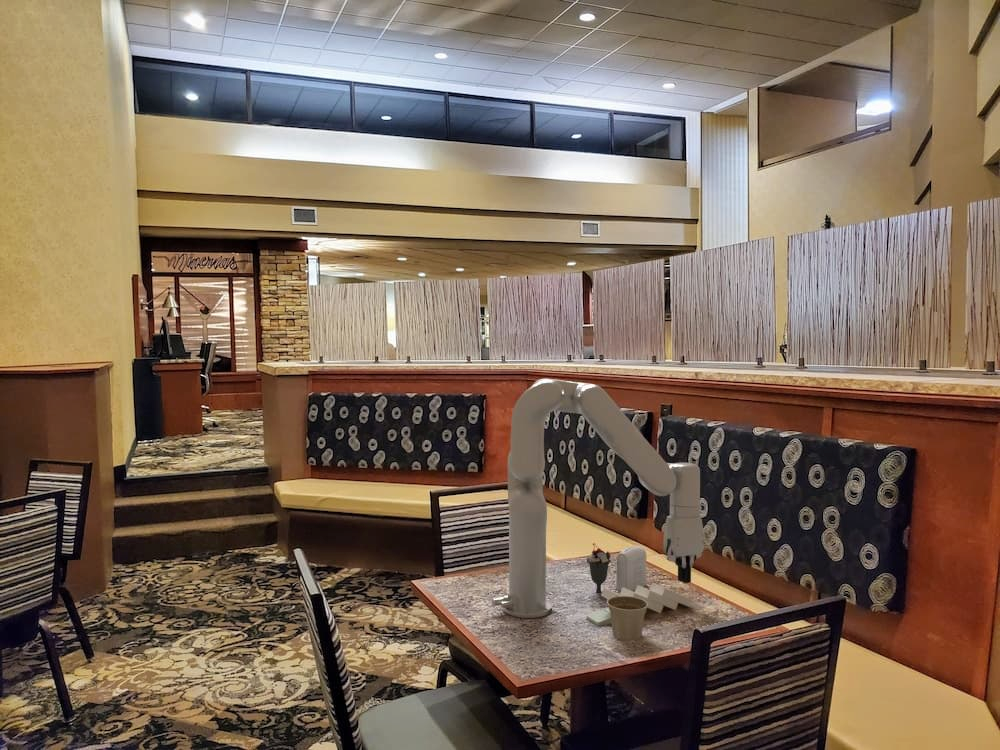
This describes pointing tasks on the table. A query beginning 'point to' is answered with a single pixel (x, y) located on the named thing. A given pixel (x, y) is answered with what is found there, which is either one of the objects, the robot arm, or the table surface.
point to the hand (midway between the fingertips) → (684, 581)
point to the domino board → (670, 611)
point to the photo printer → (631, 568)
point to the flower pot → (627, 616)
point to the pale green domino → (600, 617)
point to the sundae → (599, 567)
